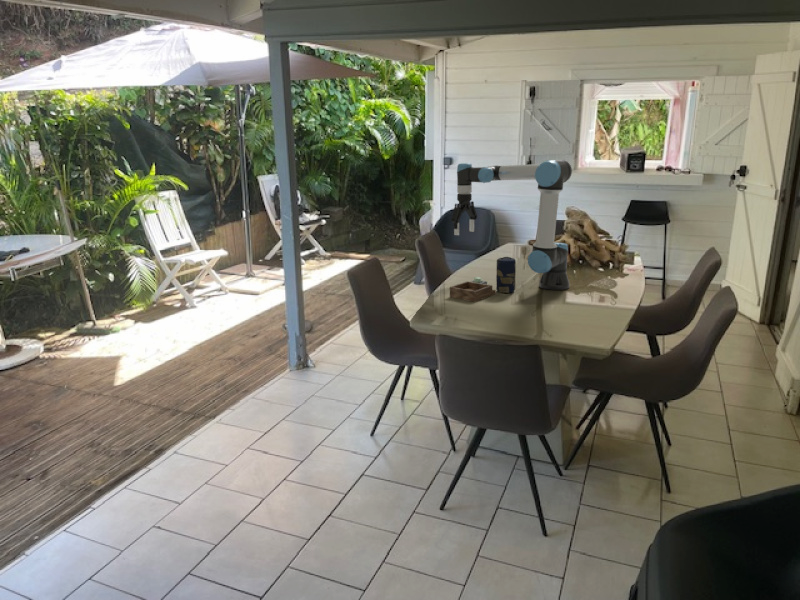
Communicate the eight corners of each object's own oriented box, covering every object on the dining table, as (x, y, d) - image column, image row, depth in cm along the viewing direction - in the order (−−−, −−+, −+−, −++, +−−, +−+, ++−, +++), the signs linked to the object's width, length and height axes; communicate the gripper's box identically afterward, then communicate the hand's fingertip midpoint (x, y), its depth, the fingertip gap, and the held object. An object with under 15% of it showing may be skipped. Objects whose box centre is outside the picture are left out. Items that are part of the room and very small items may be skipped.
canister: (514, 294, 303) (515, 258, 298) (495, 293, 305) (496, 258, 300) (515, 289, 312) (516, 255, 307) (496, 289, 314) (497, 254, 309)
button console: (486, 288, 316) (487, 281, 315) (479, 290, 311) (479, 284, 310) (475, 286, 321) (475, 279, 320) (468, 288, 316) (468, 282, 315)
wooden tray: (495, 294, 305) (495, 284, 303) (474, 301, 292) (475, 291, 290) (470, 289, 314) (470, 280, 313) (449, 297, 301) (449, 287, 300)
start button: (482, 284, 316) (482, 277, 315) (478, 285, 313) (478, 279, 312) (476, 283, 318) (476, 277, 317) (472, 284, 315) (472, 278, 314)
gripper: (472, 190, 333) (472, 229, 338) (444, 195, 315) (444, 235, 321) (483, 191, 328) (483, 230, 334) (455, 195, 310) (455, 237, 316)
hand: (464, 233), depth 327 cm, fingers open, 13 cm apart
